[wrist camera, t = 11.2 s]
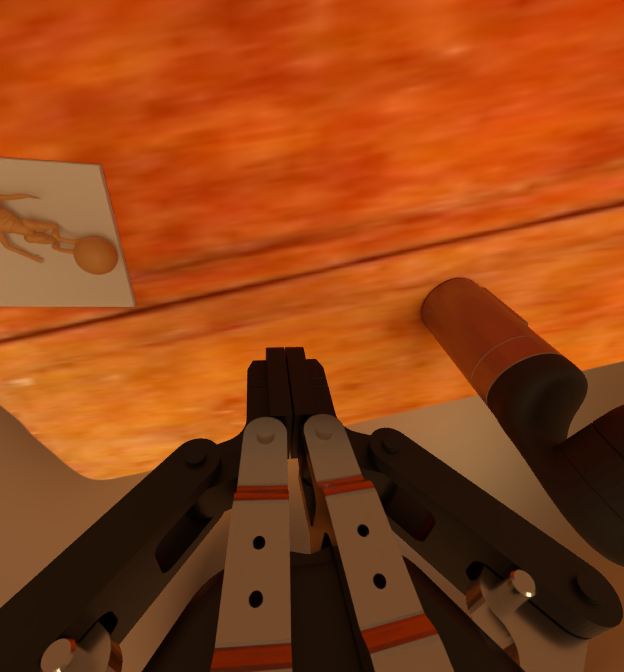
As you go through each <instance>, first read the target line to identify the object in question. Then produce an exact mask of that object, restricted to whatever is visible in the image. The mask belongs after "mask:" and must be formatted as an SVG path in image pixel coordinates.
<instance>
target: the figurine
mask: <svg viewBox="0 0 624 672" xmlns="http://www.w3.org/2000/svg"><path fill="white" fill-rule="evenodd" d="M23 198H33V199H40V198H38V197H35V196H32V195H27V194H12V195H3V194H0V205H1V203H2V199H4V200H16V199H23ZM48 230H52V231H51V235H52V236H48V235H46V234H44V233H41V232H46V231H48ZM35 231H38V232H36V233H35ZM3 232H6V233H14V234H19V235H23V236H24V240H25V241H26V242H29V243H37V244H52V246H51V247H52V249H54V250H57V251H59V252H63V253H69V254H73V255H74V259H75V262H76V263H77V265H78V266H79V267H80V268H81V269H82V270H84V271H86V272H88V273H90V274H94V275H103V274H106V273H109V272H111V271H112V270H113V269H114V268H115V267H116V265H117V262H118V254H117V251H116V249H115V248H114V246H113V245H112V244H111V243H110V242H108V241H107V240H105V239H103V238H100V237H94V236H91V237H86V238H83V239H81V238H77V239H67V238H62V237H60V234H59V231H58V227H57V226H56V225H55V224H54V223H46V222H39V221H34V220H31V219H27V218H23V219H22V221H20V220H19V219H18V218H17V217H16V216H14V214H12V213H11V212H9V211H7V210H5V209H3V208H1V207H0V242H1V244H2V245H3V246H4V247H5V248H6V249H8V250H10V251H13V252H16V253H18V254H20V255H23V256H25V257H28V258H30V259H32V260H34V261H36V262H39V261H41V262H44V261H42V260H40V259H43V258H38V256H40V255H35V256H31V255H30V254H28V253H26V252H24V251H22V250H20V249H17V248H16V247H14V246H12V245H10V244H9V243H8V240H7V238H6V237H5V235H4V233H3ZM56 239H57V240H56ZM58 241H60V242H65V243H69V244H73V245H75V247H74V249H66V248H60V245H59V242H58ZM41 262H39V263H41Z"/></svg>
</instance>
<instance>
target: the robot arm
mask: <svg viewBox="0 0 624 672" xmlns="http://www.w3.org/2000/svg"><path fill="white" fill-rule="evenodd" d="M422 319H423V322H424V323H425V325H426V326H427V328H428V329H429V330H430V332H431V333H432V334H433V335H434V337H435V338H436V340H437V341H438V342H439V344H440V345H441V346H442V347H443V349H444V350H445V351H446V353H447V354H448V355H449V357H450V358H451V359H452V361H453V362H454V363H455V365H456V366H457V367H458V368H459V370H460V371H461V372H462V374H463V375H464V376H465V378H466V379H467V380H468V382H469V383H470V384H471V386H472V387H473V388H474V389H475V391H476V392H477V393H478V395H479V396H480V397H481V399H482V400H483V401H484V402H485V404H486V405H487V406H488V408H489V409H490V410H491V412H492V413H493V414H494V415H495V417H496V418H497V420H498V422H499V424H500V425H501V427H502V428H503V430H504V431H505V433H506V434H507V435H508V437H509V438H510V439H511V441H512V442H513V444H514V445H515V446H516V448H517V449H518V450H519V452H520V453H521V455H522V456H523V458H524V459H525V460H526V462H527V464H528V465H529V467H530V468H531V470H532V471H533V473H534V474H535V476H536V477H537V479H538V480H539V482H540V483H541V485H542V486H543V488H544V489H545V491H546V492H547V494H548V495H549V497H550V498H551V499H552V500H553V502H554V504H555V505H556V506H557V508H558V509H559V511H560V512H561V513H562V515H563V516H564V517H565V518H566V520H567V521H568V522H569V523H570V524H571V525H572V527H573V528H574V529H575V530H576V532H577V533H578V534H579V535H580V536H581V537H582V538H583V539H584V540H585V541H586V542H587V543H588V544H589V545H590V546H591V547H592V548H594V549H595V550H596V551H597V552H599V553H600V554H601V555H602V556H604V557H605V558H607V559H608V560H610V561H612V562H614V563H616V564H618V565H620V566H624V405H621V406H619V407H617V408H615V409H613V410H611V411H609V412H608V413H606V414H605V415H603V416H601V417H600V418H598V419H596V420H595V421H593V423H591V424H589V425H588V426H586V427H585V428H583V429H582V430H580V431H578V432H577V433H576V434H574V435H572V436H571V437H569V438H568V439H567V434H568V429H569V426H570V424H571V421H572V419H573V417H574V415H575V414H576V412H577V410H578V409H579V408H580V406H581V404H582V403H583V401H584V399H585V396H586V393H587V388H588V384H587V379H586V377H585V375H584V374H583V373H582V371H581V370H580V369H579V368H578V367H576V366H575V365H574V364H573V363H572V362H571V361H569V360H568V359H567V358H565V357H564V356H563V355H562V354H560V353H559V352H558V351H557V350H556V349H554V348H553V347H552V346H551V345H550V344H548V343H547V342H546V341H545V340H543V339H542V338H541V337H540V336H539V335H537V334H536V333H535V332H534V331H533V330H531V329H530V328H529V327H528V323H527V322H526V321H525V320H524V319H523V318H522V317H520V316H519V315H518V314H517V313H515V312H514V311H513V310H512V309H511V308H509V307H508V306H507V305H506V304H504V303H503V302H502V301H501V300H500V299H498V298H497V297H496V296H495V295H493V294H492V293H491V292H490V291H489V290H487V289H486V288H481V287H480V286H479V285H478V284H476V283H475V282H474V281H472V280H469V279H466V278H457V279H452V280H449V281H447V282H445V283H443V284H441V285H439V286H438V287H437V288H435V289H434V290H433V291H432V292H431V293H430V294H429V296H428V297H427V299H426V300H425V302H424V305H423V308H422ZM289 454H291V459H292V458H298V463H299V474H298V480H299V485H300V490H301V495H302V500H303V504H304V510H305V515H306V520H307V525H308V530H309V539H310V553H311V554H302V553H296V552H290V539H289V538H290V537H289V536H290V535H289V491H288V478H287V477H288V476H287V459H289ZM229 509H232V514H231V523H230V530H229V538H228V547H227V554H226V562H225V569H223V570H222V571H220V572H218V573H217V574H216V575H214V576H213V577H212V578H210V579H209V580H208V581H207V582H206V583H205V584H204V585H203V586H202V587H201V588H200V589H199V591H198V592H197V593H196V594H195V595H194V596H193V598H192V599H191V601H190V602H189V603H188V605H187V606H186V608H185V609H184V610H183V612H182V613H181V615H180V616H179V618H178V619H177V621H176V622H175V624H174V625H173V627H172V628H171V630H170V631H169V633H168V634H167V635H166V637H165V638H164V640H163V641H162V643H161V644H160V646H159V647H158V649H157V650H156V651H155V653H154V654H153V656H152V657H151V659H150V660H149V662H148V663H147V665H146V666H145V668H144V669H143V671H142V672H583V670H584V664H585V657H586V652H587V645H588V642H589V640H590V639H591V638H593V637H595V636H597V635H599V634H601V633H603V632H605V631H607V630H609V629H611V628H613V627H615V626H617V625H619V624H620V622H621V620H622V617H623V610H622V605H621V602H620V600H619V597H618V595H617V593H616V592H615V590H614V589H613V587H612V586H611V584H610V583H609V582H608V581H607V580H606V578H605V577H604V576H603V575H602V574H601V573H600V572H598V571H597V570H596V569H595V568H594V567H592V566H591V565H589V564H588V563H587V562H585V561H584V560H582V559H581V558H579V557H578V556H576V555H575V554H574V553H572V552H571V551H569V550H568V549H567V548H565V547H564V546H562V545H561V544H559V543H558V542H557V541H555V540H554V539H552V538H551V537H549V536H548V535H547V534H545V533H544V532H542V531H541V530H539V529H538V528H537V527H535V526H534V525H532V524H531V523H529V522H528V521H527V520H525V519H524V518H522V517H521V516H519V515H518V514H517V513H515V512H514V511H512V510H510V509H509V508H508V507H507V506H505V505H504V504H502V503H501V502H499V501H498V500H497V499H495V498H494V497H492V496H491V495H489V494H488V493H487V492H485V491H484V490H482V489H481V488H479V487H478V486H477V485H475V484H474V483H472V482H471V481H469V480H468V479H467V478H465V477H464V476H462V475H461V474H459V473H458V472H457V471H455V470H454V469H452V468H451V467H449V466H448V465H447V464H445V463H444V462H442V461H441V460H439V459H438V458H437V457H435V456H434V455H432V454H431V453H429V452H428V451H427V450H425V449H424V448H422V447H421V446H419V445H418V444H417V443H415V442H414V441H412V440H411V439H409V438H408V437H407V436H405V435H404V434H402V433H401V432H399V431H397V430H394V429H391V428H380V429H378V430H375V431H374V432H373V433H372V435H366V434H362V433H357V432H354V431H351V430H349V429H347V428H346V427H344V426H343V424H342V423H341V422H340V421H339V420H338V419H337V417H336V414H335V410H334V406H333V403H332V399H331V395H330V391H329V387H328V384H327V380H326V376H325V372H324V368H323V367H322V365H321V364H320V363H319V362H318V361H317V360H316V359H306V358H305V353H304V348H303V347H285V350H284V347H277V348H266V360H258V361H253V362H252V363H251V365H250V366H249V368H248V371H247V421H246V425H245V427H244V429H243V430H242V432H241V433H240V434H239V435H237V436H236V437H234V438H233V439H231V440H228V441H226V442H223V443H220V444H217V445H216V443H214V442H213V441H211V440H208V439H203V438H200V439H193V440H190V441H188V442H186V443H184V444H182V445H181V446H180V447H179V448H177V449H176V450H175V451H174V452H173V453H172V454H171V455H170V456H169V457H167V458H166V459H165V460H164V461H163V462H162V463H161V464H160V465H159V466H157V467H156V468H155V469H154V470H153V471H152V472H151V473H150V474H149V475H147V477H145V478H144V479H143V480H142V481H141V482H140V483H139V484H137V486H135V487H134V488H133V489H132V490H131V491H130V492H129V493H128V494H126V495H125V496H124V497H123V498H122V499H121V500H120V501H119V502H118V503H117V504H115V505H114V506H113V507H112V508H111V509H110V510H109V511H108V512H107V513H105V514H104V515H103V516H102V517H101V518H100V519H99V520H98V521H97V522H95V523H94V524H93V525H92V526H91V527H90V528H89V529H88V530H87V531H85V532H84V533H83V534H82V535H81V536H80V537H79V538H78V539H77V540H75V541H74V542H73V543H72V544H71V545H70V546H69V547H68V548H66V549H65V551H63V552H62V553H61V554H60V555H59V556H58V557H57V558H55V559H54V560H53V561H52V562H51V563H50V564H49V565H48V566H47V567H46V568H44V569H43V570H42V571H41V572H40V573H39V574H38V575H37V576H35V577H34V578H33V579H32V580H31V581H30V582H29V583H28V584H27V585H25V586H24V587H23V588H22V589H21V590H20V591H19V592H18V593H17V594H15V595H14V596H13V597H12V598H11V599H10V600H9V601H8V602H7V603H5V604H4V605H3V606H2V607H1V608H0V672H121V670H122V663H123V657H122V651H121V648H120V646H119V644H120V643H121V642H122V640H123V639H124V638H125V637H126V635H127V634H128V633H129V632H130V630H131V629H132V628H133V627H134V625H135V624H136V623H137V622H138V620H139V619H140V618H141V617H142V615H143V614H144V613H145V612H146V610H147V609H148V608H149V606H150V605H151V604H152V603H153V602H154V600H155V599H156V598H157V597H158V595H159V594H160V593H161V592H162V590H163V589H164V588H165V587H166V585H167V584H168V583H169V582H170V580H171V579H172V578H173V577H174V575H175V574H176V573H177V572H178V570H179V569H180V568H181V566H182V565H183V564H184V563H185V562H186V560H187V559H188V558H189V557H190V555H191V554H192V553H193V552H194V550H195V549H196V548H197V547H198V545H199V544H200V543H201V542H202V540H203V539H204V538H205V537H206V535H207V534H208V533H209V532H210V530H211V529H212V528H213V527H214V525H215V524H216V523H217V522H218V520H219V519H220V518H221V516H222V515H223V513H224V512H225V511H227V510H229ZM392 530H393V531H394V532H395V533H396V534H397V535H398V536H399V537H400V538H401V539H403V540H404V541H405V542H406V543H407V544H408V545H409V546H410V547H411V548H413V549H414V550H415V551H416V552H417V553H418V554H419V555H421V556H422V557H423V558H424V559H425V560H426V561H427V562H428V563H429V564H431V565H432V566H433V567H434V568H435V569H436V570H437V571H438V572H439V573H441V574H442V575H443V576H444V577H445V578H446V579H447V580H449V581H450V582H451V583H452V584H453V585H454V586H455V587H456V588H457V589H458V590H460V591H461V592H462V593H463V594H464V595H465V596H466V604H467V608H468V611H469V613H470V616H471V618H470V617H469V616H468V615H467V614H466V613H465V612H463V611H462V609H461V608H460V607H458V606H457V605H456V604H455V603H454V602H453V601H452V600H451V599H450V598H449V597H448V596H447V595H446V594H445V593H444V592H443V591H442V590H441V589H440V588H439V587H438V586H437V585H436V584H435V583H434V582H432V580H431V579H430V578H429V577H428V576H427V575H426V574H425V573H423V571H422V570H421V569H419V568H418V567H417V566H416V565H415V564H414V563H412V562H411V561H410V560H409V559H407V558H406V557H404V556H402V555H401V553H400V550H399V548H398V545H397V542H396V540H395V537H394V535H393V532H392Z"/></svg>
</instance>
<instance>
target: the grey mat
mask: <svg viewBox="0 0 624 672" xmlns="http://www.w3.org/2000/svg"><path fill="white" fill-rule="evenodd" d="M0 194H3V195H12V194H27V195H32V196H35V197H38V198H40V199H33V198H23V199H16V200H4V199H2V203H1V205H0V207H1V208H3V209H5V210H7V211H9V212H11V213H12V214H14V216H16V217H17V218H18V219H19V220H20V221H22V219H23V218H27V219H31V220H34V221H39V222H46V223H54V224H55V225H56V226H57V227H58V231H59V234H60V237H62V238H67V239H77V238H81V239H83V238H86V237H91V236H94V237H100V238H103V239H105V240H107V241H108V242H110V243H111V244H112V245H113V246H114V248H115V249H116V251H117V254H118V262H117V265H116V267H115V268H114V269H113V270H112V271H111V272H109V273H106V274H103V275H94V274H90V273H88V272H86V271H84V270H82V269H81V268H80V267H79V266H78V265H77V263H76V262H75V259H74V255H73V254H69V253H63V252H59V251H57V250H54V249H52V247H51V246H52V244H37V243H29V242H26V241H25V240H24V236H23V235H19V234H14V233H6V232H3V233H4V235H5V237H6V238H7V240H8V243H9V244H10V245H12V246H14V247H16V248H17V249H20V250H22V251H24V252H26V253H28V254H30V255H31V256H35V255H40V256H38V258H43V259H40V260H42V261H44V262H41V261H39V262H41V263H39V262H36V261H34V260H32V259H30V258H28V257H25V256H23V255H20V254H18V253H16V252H13V251H10V250H8V249H6V248H5V247H4V246H3V245H2V244H1V242H0V306H17V307H135V305H136V301H135V297H134V293H133V289H132V285H131V281H130V277H129V273H128V269H127V265H126V261H125V257H124V253H123V249H122V245H121V241H120V237H119V233H118V229H117V225H116V221H115V217H114V213H113V209H112V205H111V201H110V197H109V193H108V189H107V185H106V181H105V177H104V173H103V169H102V165H101V164H91V163H77V162H64V161H50V160H36V159H22V158H8V157H0ZM51 231H52V230H48V231H46V232H41V233H44V234H46V235H48V236H52V235H51ZM36 232H38V231H35V233H36ZM56 240H57V239H56ZM58 242H59V245H60V248H66V249H74V247H75V245H73V244H69V243H65V242H60V241H58Z"/></svg>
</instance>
